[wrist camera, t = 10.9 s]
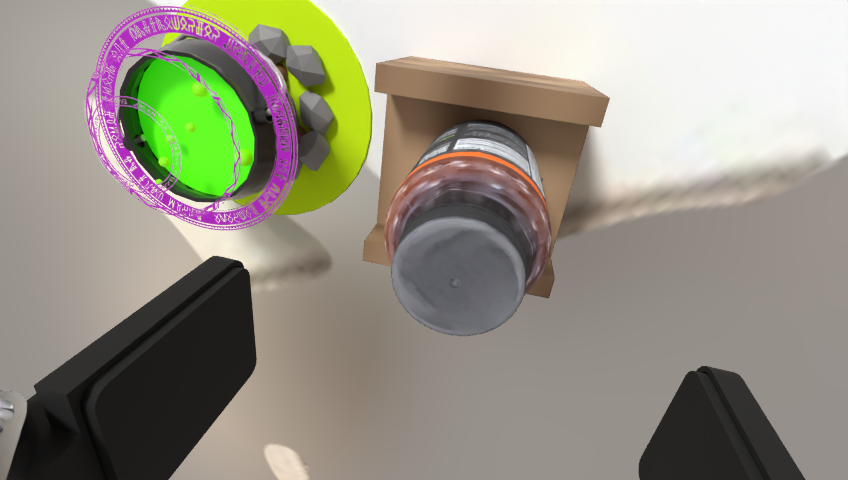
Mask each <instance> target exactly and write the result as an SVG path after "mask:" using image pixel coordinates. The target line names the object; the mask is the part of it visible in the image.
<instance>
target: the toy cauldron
mask: <svg viewBox="0 0 848 480" xmlns="http://www.w3.org/2000/svg"><path fill="white" fill-rule="evenodd" d="M155 8H159V10H156V11H154V10H153V11H150V9H155ZM160 8H163V10H161V9H160ZM164 8H170V10H168V9H167V10H164ZM171 8H179V9H180V10H179V9H178V10H175V9H174V10H172V9H171ZM146 10H149V12H147V11H146ZM143 11H146V13H143V14H139V16H136V17H134V15H135V14H138V13H140V12H143ZM159 12H178V13H177V14H176V15H156V16H151V17H148V18H145V19H142V20H140V21H138V22H136V23H134V24H132V25H131V26H129V27H128V28H127V29H126V30H124V32H122V33H121V34H120V35H119V36H118V38H117V39H116V40H115V42H114V43H113V45H112V46H111V49H110V50H109V52H108V55H107V57H106V60H104V61H105V63H104V61H103V59H104V56H105V53H106V51H107V49H108V47H109V45H110V43H111V42H112V40H113V39H114V38H115V36H116V35H117V34H118V33H119V32H120V31H121V30H122V29H123V28H124V27H125V26H126V25H128V24H129V23H130V22H132V21H134V20H136V19H138V18H140V17H142V16H145V15H148V14H153V13H159ZM131 16H133V19H131V20H128V22H125V24H123V26H120V28H119V29H118V31H115V34H113V36H111V35H112V33H113V32H114V30H116V29H117V27H118V26H119V25H120V24H122V23H123V22H124V21H126V20H127V19H128V18H130V17H131ZM131 16H129V17H128V18H126V19H125V20H123V21H122V22H121V23H120V24H119V25H118V26H116V28H115V29H114V30H113V31H112V32H111V34H110V35H109V36H108V38H107V40H108V39H109V37H110V36H111V39H109V42H108V45H106V48H105V51H104V52H103V53H104V54H102V58H101V59H102V60H101V61H100V63H101V64H99V65H100V68H98V70H99V71H98V70H97V67H98V62H99V58H100V56H101V53H102V50H103V48H104V46H105V44H106V42H105V43H104V45H103V47H102V50H101V52H100V55H99V58H98V62H97V67H96V71H95V74H93V75H94V76H93V77H95V78H91V81H90V84H89V87H88V91H87V98H86V113H87V104H88V108H89V112H90V115H89V121H88V115H87V121H88V126H89V125H90V120H91V129H90V127H89V130H90V134H91V137H92V135H93V137H94V139H95V143H96V144H97V148H95V150H97V149H98V150H97V151H96V152H98V153H99V155H100V154H103V156H104V157H103V158H105V160H106V162H105V160H103V159H102V158H101V159H102V160H103V162H105V163H106V165H104V164H105V163H103V162H102V160H101V159H100V160H101V162H102V163H103V165H104V166H105V167H106V169H107V165H108V166H109V168H110V169H111V171H109V170H108V169H107V170H108V171H109V172H110V173H111V174H112V175H113V176H114V175H115V176H114V178H116V177H118V176H119V175H118V174H117V173H116V171H117V170H116V169H115V168H114V167H113V165H112V164H111V163H110V161H109V160H108V158H107V157H105V156H106V155H104V154H105V153H103V152H104V151H102V150H103V148H102V145H101V142H100V145H101V148H102V149H101V148H100V146H99V144H98V143H99V142H97V137H96V133H97V132H96V131H95V129H96V130H97V128H98V127H97V128H94V127H95V126H94V123H93V116H94V114H95V112H96V110H97V111H98V107H99V109H100V111H99V112H100V113H101V114H100V113H99V112H98V115H97V116H98V117H99V120H100V116H101V120H102V121H103V116H104V118H105V122H106V125H107V128H108V131H109V134H110V136H111V137H112V136H113V134H114V135H115V136H116V137H115V136H113V138H114V139H115V140H116V138H117V140H116V141H115V140H114V139H112V138H111V139H112V141H113V143H114V145H115V143H116V142H119V143H116V147H117V148H116V149H117V151H118V153H119V155H120V157H121V158H122V160H123V162H124V163H125V161H128V160H130V159H132V161H131V163H130V162H129V161H128V162H126V163H125V165H126V166H127V168H128V169H129V170H130V167H131V166H132V163H133V162H134V163H135V164H134V163H133V164H134V166H136V167H137V168H136V169H135V170H133V169H132V168H131V169H132V170H133V171H132V172H131V171H130V172H131V173H132V174H133V175H134V177H135V178H136V179H137V180H138V181H139V179H140V177H143V176H144V175H145V176H144V177H147V178H144V177H143V178H144V179H143V178H142V179H143V181H141V179H140V181H141V182H140V181H139V182H140V184H141V186H143V187H144V188H145V186H146V185H147V183H148V180H149V183H148V185H147V186H146V188H148V187H149V188H148V189H146V188H145V190H144V188H142V187H141V186H140V184H139V183H138V182H137V181H136V180H135V179H134V178H133V176H132V175H131V174H130V173H129V171H128V170H127V169H126V167H125V166H124V164H123V163H122V161H121V160H120V158H119V156H118V154H117V153H116V151H115V149H114V147H113V145H112V143H111V140H110V138H109V135H108V133H107V130H106V127H105V124H104V121H103V122H102V123H103V124H104V126H103V127H104V128H105V129H104V130H105V131H106V134H107V137H106V135H105V132H104V130H103V132H104V135H105V137H106V140H107V138H109V140H107V142H108V141H110V144H109V142H108V144H109V146H110V145H112V148H113V149H114V150H112V148H111V146H110V148H111V150H112V152H113V151H115V153H116V154H114V152H113V154H114V156H115V155H117V158H119V161H120V162H121V164H122V165H123V167H124V168H125V170H124V168H123V167H122V166H121V167H122V168H123V170H124V171H125V172H126V171H127V173H126V174H127V175H128V174H129V175H130V176H129V175H128V176H129V178H130V177H132V179H131V178H130V179H131V180H132V181H133V180H134V181H133V183H134V184H135V185H136V186H137V185H139V187H138V186H137V187H138V188H139V189H140V190H141V191H142V189H143V191H142V192H141V193H144V192H146V190H147V191H148V192H150V191H151V190H152V189H153V188H151V187H155V188H154V190H155V189H156V188H157V193H156V192H155V191H154V190H153V191H154V193H151V192H150V193H148V192H146V193H144V194H145V195H146V194H148V195H149V196H150V197H151V198H150V197H148V196H147V195H146V196H147V197H148V198H150V199H151V200H152V199H154V198H153V197H152V196H151V195H150V194H152V195H153V196H154V197H155V198H156V199H158V200H159V201H160V202H162V203H163V204H165V205H166V206H168V204H169V201H170V198H171V201H172V200H173V203H174V201H175V204H174V207H173V208H172V203H171V204H170V205H169V206H168V207H169V208H171V209H172V210H173V211H176V212H178V213H175V212H173V211H171V209H168V208H166V207H165V206H164V205H162V204H161V203H159V202H158V201H157V200H156V199H154V201H156V202H157V203H159V204H160V205H162V206H163V207H161V206H160V205H158V204H157V203H156V202H154V201H153V200H152V201H153V202H154V203H156V204H157V205H156V204H154V203H153V204H154V205H156V206H153V205H148V204H147V203H146V202H145V201H144V200H143V199H142V198H144V197H142V196H141V195H139V194H138V193H137V192H140V191H137V190H135V191H137V192H135V191H134V189H132V188H130V187H129V186H130V185H131V184H130V183H129V186H127V187H126V188H125V189H127V188H128V187H129V189H128V190H127V191H128V192H129V190H130V193H131V194H132V192H134V193H135V194H136V195H137V196H138V197H139V198H140V199H141V200H142V201H143V202H144V203H145V204H146V205H148V206H150V207H156V208H161V209H163V210H164V211H166V212H168V213H169V215H174V216H175V217H177V216H179V217H180V218H179V217H177V218H179V219H181V218H183V219H186V220H189V219H187V218H185V217H188V218H191V219H194V220H197V221H200V220H199V219H198V218H199V217H200V216H201V221H200V222H204V223H209V224H217V225H230V224H238V223H243V222H246V221H249V220H251V219H253V218H255V217H257V216H259V215H261V214H262V213H263V212H264V213H265V214H264V215H263V216H261V217H259V218H258V219H259V220H260V218H262V217H265V215H267V214H268V213H269V214H270V213H271V214H277V215H292V214H301V213H305V212H308V211H313V210H316V209H318V208H320V207H322V206H324V205H326V204H328V203H330V202H332V201H333V200H335V199H336V198H337V197H338V196H340V195H341V194H342V193H343V192H344V191H345V190H347V189H348V187H349V186H350V185H351V183H352V182H353V181H354V180H355V178H356V177H357V175H358V174H359V172H360V170H361V168H362V166H363V162H364V160H365V158H366V155H367V151H368V146H369V142H370V138H371V122H372V110H371V103H370V97H369V90H368V86H367V83H366V80H365V77H364V74H363V71H362V68H361V65H360V63H359V61H358V59H357V57H356V55H355V53H354V51H353V50H352V48H351V46H350V44H349V42H348V40H347V39H346V38H345V37H344V35H343V34H342V33H341V31H340V30H339V29H338V28H337V26H336V25H335V24H334V23H333V21H332V20H331V19H330V18H329V17H328V16H327V15H325V14H324V13H323V12H322V11H321V10H320V9H319V8H318V7H316V6H315V5H314V4H313V3H312V2H311V1H309V0H189V1H187V2H186V3H185V4H184V5H183V6H182V7H173V6H159V7H153V8H148V9H145V10H142V11H139V12H136V13H134V14H133V15H131ZM165 16H167V18H168V19H169V20H170V21H171V22H170V26H169V27H168V25H167V24H166V23H165V22H164V20H165ZM155 17H156V18H158V19H159V20H160V22H161V24H162V25H164V26H165V27H166V30H163V29H162V27H163V28H164V29H165V27H164V26H162V27H161V24H160V22H159V24H160V27H161V30H159V29H160V27H159V29H158V26H159V24H158V25H157V23H158V21H157V23H156V20H157V19H156V20H155ZM171 17H172V20H171ZM150 18H152V20H151V22H152V21H153V22H155V24H154V26H155V28H154V26H153V28H154V30H153V28H152V25H151V24H150V20H149V19H150ZM167 18H166V20H165V21H166V22H167V23H168V24H169V20H168V19H167ZM142 21H145V22H143V23H144V25H145V23H146V25H147V26H149V28H150V33H151V34H150V33H149V31H148V29H149V28H146V29H145V30H147V31H148V34H147V32H146V31H145V30H144V29H143V28H144V25H143V23H142ZM134 25H136V26H138V27H139V28H140V30H141V31H143V32H144V33H145V35H146V36H144V35H143V34H144V33H143V34H142V33H141V31H140V30H139V32H140V33H141V35H142V37H141V38H140V37H139V38H138V35H139V34H140V33H139V34H138V33H137V31H136V29H135V27H136V26H135V27H134ZM146 25H145V27H146ZM130 27H131V28H133V29H134V30H135V31H136V33H137V34H138V35H137V39H136V38H134V37H133V38H134V39H135V41H134V39H133V38H132V37H131V35H130V33H129V28H130ZM167 27H168V30H167ZM155 29H156V30H157V32H156V31H155ZM153 31H155V32H153ZM131 32H132V34H133V35H134V36H135V37H136V35H135V33H134V32H133V31H132V30H131ZM162 33H166V35H165V38H164V40H163V44H162V48H161V49H159V50H152V49H146V48H133V47H134V46H136V44H138V43H139V42H141V41H143V40H144V39H146V38H148V37H151V36H153V35H157V34H162ZM119 38H121V39H122V40H124V42H125V44H126V45H127V46H128V47H129V48H127V47H126V48H127V49H126V48H125V46H126V45H125V44H124V45H125V46H124V45H123V44H122V45H121V41H122V40H121V41H120V40H119ZM107 40H106V41H107ZM115 43H117V44H118V45H119V46H120V47H121V48H122V50H121V49H120V48H119V47H118V46H117V45H115V46H116V47H117V48H118V49H119V50H120V52H119V50H118V49H117V48H116V47H115V46H114V44H115ZM138 49H140V50H146V51H143V52H141V53H137V54H132V53H129V51H130V50H138ZM111 51H116V52H117V53H116V52H113V55H112V52H111ZM124 51H125V52H124ZM150 51H152V52H153V53H152V54H148V55H142V54H144V53H147V52H150ZM155 51H156V52H155ZM121 54H122V55H123V56H122V55H121ZM126 55H131V57H132V56H143V57H142V58H141V59H140V60H139V61H138V62H136V63H135V64H134V65H133V66H132V67H131V68H130V69H129V70H128V72H127V74H126V77H125V79H124V82H123V84H122V87H121V89H120V96H114V90H115V82H116V77H117V74H118V70H119V68H120V66H121V63H122V62H123V60H124V58H125V57H126ZM113 56H116V57H113ZM118 56H120V57H121V58H118ZM129 57H130V56H129ZM118 59H119V60H118ZM118 61H119V62H118ZM103 63H104V67H103V71H102V73H100V70H101V66H102V65H103ZM111 65H112V66H114V67H115V68H116V69H115V68H113V67H112V66H111ZM110 66H111V67H112V68H113V69H114V70H115V72H113V71H114V70H113V69H112V68H110ZM106 67H108V68H110V69H111V70H112V71H111V72H113V73H114V74H115V75H114V74H112V73H111V72H110V71H109V70H110V69H109V70H108V69H107V68H106ZM105 70H106V71H108V72H110V75H111V76H112V77H114V78H112V77H111V76H109V73H108V72H105V74H104V75H103V73H104V71H105ZM97 72H98V73H99V74H96V73H97ZM100 75H101V76H102V78H101V101H102V103H101V102H100V98H99V78H100V77H101V76H100ZM97 76H98V78H97V79H96V77H97ZM108 76H109V78H110V79H112V80H113V81H112V80H110V79H109V78H108ZM105 78H106V79H107V80H108V82H109V83H110V82H112V83H111V84H110V85H111V87H112V88H111V87H110V85H109V84H107V85H105V83H108V82H107V80H104V82H105V83H104V82H103V80H102V79H105ZM92 81H95V86H94V87H93V88H92V90H91V91H90V92H89V88H90V85H91V82H92ZM97 84H98V85H97ZM96 85H97V87H98V89H97V90H98V93H97V94H98V100H97V99H96ZM102 86H103V87H107V88H109V89H107V88H106V89H107V90H108V91H112V92H109V93H110V94H111V95H109V94H106V93H108V92H107V91H106V90H105V89H104V88H103V87H102ZM94 89H95V99H96V106H97V101H99V104H98V106H97V108H96V109H95V111H94V113H93V116H92V115H91V114H92V105H91V110H90V105H89V100H88V97H89V96H90V94H91V93H92V92H93V90H94ZM110 89H111V90H110ZM102 91H104V92H106V93H104V92H102ZM105 95H106V98H108V99H106V100H110V99H112V100H110V101H106V100H104V99H105V98H103V99H102V96H103V97H105ZM115 97H120V98H119V101H118V104H117V103H116V100H115V101H114V98H115ZM92 100H93V99H92ZM112 101H113V103H112ZM92 102H93V101H92ZM101 104H102V107H101V106H100V105H101ZM115 104H117V106H115ZM115 107H116V109H115ZM101 108H103V113H104V111H106V112H105V113H104V115H103V116H102V112H101ZM109 111H110V112H111V113H114V114H111V113H110V115H114V116H110V117H113V118H110V117H109V115H106V116H105V114H109V113H107V112H109ZM99 114H100V116H99ZM96 118H97V117H96ZM96 118H95V119H96ZM97 120H98V119H97ZM101 120H100V123H101ZM107 120H113V121H108V122H110V123H112V124H110V123H108V122H107ZM120 120H121V123H122V127H123V131H124V134H125V135H124V134H123V133H122V130H121V126H120ZM95 122H96V121H95ZM100 123H99V129H100ZM102 123H101V126H102ZM95 124H96V123H95ZM96 125H97V124H96ZM92 126H93V130H94V131H93V132H94V134H93V132H92ZM103 127H102V129H103ZM109 127H113V128H114V129H111V128H109ZM112 131H115V133H110V132H112ZM95 132H96V133H95ZM98 132H99V131H98ZM94 135H95V136H94ZM97 136H98V135H97ZM93 137H92V141H93ZM99 140H100V135H99ZM95 143H94V141H93V144H94V147H96V146H95ZM122 143H123V144H122ZM119 144H121V145H120V146H121V147H124V148H120V146H119ZM99 149H100V150H99ZM100 151H101V152H102V153H100ZM130 151H133V153H134V155H135V157H136V158H137V160H138V162H139V163H140V164H141V165H142V166H143V167H144V168H145V170H146V171H147V172H148V173H149V174H150V175H151V176H152V177H153V179H154V180H155V181H156V184H157V185H163V186H164V187H165V188H167V190H170V191H171V192H173V193H174V194H176V195H179V196H181V197H184V198H187V199H190V200H193V201H195V202H216V204H217V202H218V204H217V206H216V209H217V207H218V208H219V202H221V201H226V200H234V201H235V202H237V203H239V204H241V205H243V206H245V207H244V208H241V209H238V210H235V211H230V212H212V211H214V210H216V209H215V203H213V204H212V205H213V206H212V205H210V206H208V207H206V208H204V209H205V210H204V211H203V210H201V209H200V210H199V209H196V208H193V207H190V206H188V205H185V204H183V203H181V202H180V201H178V200H176V199H174V198H173V197H171V196H170V195H168V194H167V193H165V192H166V191H167V190H165V191H163V190H162V189H160V188H159V187H160V186H159V187H158V186H157V185H156V184H155V183H154V182H153V181H152V180H151V179H150V178H149V177H148V176H147V175H146V174H145V173H144V172H143V170H142V169H141V168H140V167H139V165H138V164H137V162H136V161H135V159H134V158H133V156H132V155H131V153H130ZM98 153H97V154H98ZM99 155H98V156H99ZM101 156H102V155H100V157H101ZM126 156H128V157H129V156H130V157H131V158H129V159H127V157H126ZM100 157H99V158H100ZM115 157H116V156H115ZM106 158H107V159H106ZM117 158H116V159H117ZM125 159H127V160H125ZM107 160H108V161H109V163H110V164H111V165H112V167H113V168H114V169H115V170H116V171H114V170H113V169H112V168H111V166H110V165H109V163H108V161H107ZM124 160H125V161H124ZM117 161H118V159H117ZM119 161H118V162H119ZM120 162H119V164H120ZM116 163H117V162H116ZM121 164H120V165H121ZM118 166H119V165H118ZM134 166H132V167H134ZM134 168H135V167H134ZM117 172H118V171H117ZM118 173H119V172H118ZM119 174H120V173H119ZM116 175H117V176H116ZM120 175H121V174H120ZM122 176H123V175H122ZM123 177H124V176H123ZM126 177H127V176H126ZM119 178H120V176H119V177H118V178H116V179H117V180H118V179H119ZM124 178H125V177H124ZM126 179H127V178H126ZM119 180H121V181H122V180H123V178H122V179H121V178H120V179H119ZM119 180H118V181H119ZM127 180H128V179H127ZM121 181H119V182H121ZM125 181H126V180H125ZM129 181H130V180H129ZM132 181H131V182H132ZM122 182H123V183H125V184H124V185H125V186H126V183H127V182H124V181H122ZM122 182H121V183H122ZM135 182H136V183H135ZM121 183H120V184H121ZM123 183H122V185H123ZM151 184H153V185H151ZM124 185H123V186H124ZM127 185H128V184H127ZM149 185H151V186H149ZM125 186H124V187H125ZM132 187H133V186H132ZM164 187H163V188H164ZM161 188H162V187H161ZM165 188H164V189H165ZM153 191H152V192H153ZM159 191H162V192H163V194H161V193H162V192H159ZM158 192H159V193H158ZM156 194H157V197H156ZM160 194H161V195H160ZM159 195H160V197H159ZM140 196H141V197H142V198H141V197H140ZM162 196H163V198H162ZM158 197H159V198H158ZM161 198H162V200H161ZM144 199H145V198H144ZM138 200H139V199H138ZM146 200H147V199H146ZM147 201H149V200H147ZM171 201H170V202H171ZM149 202H150V201H149ZM177 202H178V204H179V205H181V204H182V205H181V206H178V204H177ZM151 203H152V202H151ZM177 206H178V211H177ZM184 206H185V210H187V207H188V210H187V211H185V210H183V211H182V209H184ZM164 207H165V208H164ZM211 207H213V210H211V211H206V210H208V209H209V208H211ZM241 207H242V206H241ZM179 208H180V211H179ZM192 208H193V209H195V210H193V212H192ZM246 208H247V212H249V213H251V218H250V217H248V216H250V214H249V213H247V215H248V216H246V212H245V211H246ZM249 208H250V209H251V210H252V211H253V212H254V210H256V211H257V212H258V214H257V215H255V212H256V211H255V212H254V213H253V212H252V211H251V210H250V209H249ZM153 209H154V208H153ZM165 209H167V210H169V211H171V213H170V212H169V211H167V210H165ZM189 209H190V211H189ZM235 209H236V208H235ZM253 209H254V210H253ZM155 210H157V209H155ZM197 210H198V211H201V212H198V211H197ZM230 210H233V209H230ZM241 210H242V211H243V210H245V211H243V212H244V214H245V216H246V219H245V220H242V219H243V218H244V216H243V215H244V214H243V212H242V211H241ZM196 211H197V213H196ZM226 211H227V210H226ZM240 211H241V212H242V213H241V212H240ZM161 212H162V211H161ZM204 212H205V213H204ZM236 212H238V213H239V212H240V213H239V215H240V214H241V215H242V214H243V215H242V217H243V218H242V217H241V218H242V219H241V218H240V216H241V215H240V216H239V215H238V213H237V214H236ZM257 212H256V213H257ZM163 213H164V212H163ZM168 213H166V214H168ZM172 213H174V214H172ZM183 213H184V214H186V215H184V214H183ZM203 213H204V214H203ZM224 213H225V215H226V214H227V215H228V216H227V215H226V218H225V221H226V222H223V221H222V220H223V219H224ZM233 213H234V214H235V216H236V217H237V215H238V218H235V220H236V221H240V222H236V221H235V220H234V217H235V216H234V214H233ZM178 214H182V215H184V216H180V215H178ZM189 214H190V216H189ZM218 214H220V215H221V216H222V217H221V218H220V215H218ZM230 214H231V215H230ZM271 214H270V215H271ZM217 215H218V218H219V219H220V222H219V219H218V218H217V219H216V216H217ZM229 215H230V217H231V218H233V222H232V219H231V218H230V217H229ZM270 215H268V216H267V217H266V218H268V217H269V216H270ZM197 216H198V218H197ZM222 218H223V219H222ZM228 218H229V220H230V221H231V222H232V223H231V222H230V221H228ZM266 218H264V219H266ZM183 219H181V220H183ZM215 219H216V220H217V221H218V222H219V223H218V222H217V221H216V220H215ZM221 219H222V220H221ZM258 219H256V220H253V221H251V222H249V223H246V224H242V225H243V226H244V225H247V224H249V225H250V223H252V222H255V221H257V220H258ZM264 219H263V220H264ZM263 220H261V221H263ZM183 221H185V220H183ZM189 221H192V220H189ZM261 221H259V222H261ZM186 222H188V221H186ZM192 222H193V223H194V222H195V221H192ZM259 222H257V223H259ZM188 223H190V222H188ZM193 223H191V224H193ZM195 223H196V224H197V223H198V222H195ZM257 223H255V224H257ZM196 224H193V225H196ZM198 224H199V225H200V224H202V223H198ZM255 224H253V225H255ZM199 225H196V226H199ZM202 225H205V226H208V227H209V226H211V225H206V224H202ZM242 225H237V227H239V226H240V227H241V226H242ZM253 225H250V226H253ZM250 226H247V227H250ZM200 227H203V226H200ZM211 227H214V228H215V227H217V228H218V227H220V228H221V227H222V228H223V229H214V230H237V229H230V227H231V228H233V227H235V228H236V226H225V227H226V228H227V227H228V228H229V229H224V227H223V226H211ZM247 227H243V228H247ZM204 228H207V227H204ZM208 229H213V228H208ZM238 229H242V228H238Z"/></svg>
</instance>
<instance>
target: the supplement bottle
mask: <svg viewBox="0 0 848 480" xmlns="http://www.w3.org/2000/svg"><path fill="white" fill-rule="evenodd" d="M542 181H543V178H542V179H540V175H539V170H538V166H537V163H536V160H535V158H534V155H533V152H532V151H531V149H530V147H529V146H528V144H527V143H526V141H525V140H524V139H523V138H522V136H521V135H519V134H518V133H517V132H516V131H515V130H513V129H512V128H510V127H508V126H506V125H504V124H502V123H499V122H496V121H491V120H483V119H478V120H469V121H465V122H461V123H459V124H456V125H454V126H452V127H450V128H449V129H447V130H446V131H444V132H443V133H442V134H440V135H439V136H438V137H437V138H436V139H435V140H434V141H433V142H432V143H431V145H430V146H429V148H428V149H427V150H426V152H425V153H424V154H423V155H422V157H421V158H420V159H419V161H418V162H417V163H416V165H415V166H414V167H413V169H412V170H411V172H410V173H409V174H408V175H407V177H406V178H405V179H404V181H403V182H402V184H401V185H400V187H399V188H398V190H397V191H396V193H395V194H394V196H393V198H392V201H391V203H390V205H389V208H388V211H387V214H386V218H385V225H384V241H385V248H386V252H387V256H388V259H389V261H390V264H391V278H392V285H393V289H394V291H395V294H396V296H397V298H398V300H399V302H400V303H401V305H402V306H403V308H404V309H405V310H406V311H407V312H408V313H409V314H410V315H411V316H412V317H413V318H414V319H415V320H417V321H419V322H420V323H422V324H423V325H424V326H427V327H429V328H430V329H433V330H435V331H437V332H441V333H445V334H449V335H457V336H471V335H477V334H482V333H486V332H488V331H490V330H493V329H495V328H497V327H499V326H500V325H502V324H503V323H504V322H506V321H507V320H508V319H509V318H510V317H511V316H512V315H513V314H514V313H515V311H516V310H517V308H518V307H519V305H520V303H521V302H522V299H523V296H524V295H525V294H526V293H527V292H528V291H529V290H530V289H531V288H532V287H533V286H534V285H535V283H536V282H537V281H538V280H539V278H540V277H541V275H542V273H543V271H544V270H545V268H546V265H547V262H548V260H549V257H550V252H551V244H552V236H551V234H552V232H551V223H550V218H549V213H548V209H547V204H546V198H545V193H544V190H543V187H542Z"/></svg>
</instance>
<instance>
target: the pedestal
mask: <svg viewBox="0 0 848 480" xmlns="http://www.w3.org/2000/svg"><path fill="white" fill-rule="evenodd" d="M374 92H379V93H386V94H387V105H386V117H385V130H384V142H383V155H382V167H381V179H380V192H379V204H378V217H377V224H376V225H375V227H374V228H373V230H372V231H371V232H370V234H369V235H368V237H367V238H366V240H365V241H364V253H363V260H364V261H367V262H372V263H378V264H382V265H387V266H391V264H390V261H389V259H388V256H387V252H386V248H385V241H384V225H385V218H386V214H387V211H388V208H389V205H390V203H391V201H392V198H393V196H394V194H395V193H396V191H397V190H398V188H399V187H400V185H401V184H402V182H403V181H404V179H405V178H406V177H407V175H408V174H409V173H410V172H411V170H412V169H413V167H414V166H415V165H416V163H417V162H418V161H419V159H420V158H421V157H422V155H423V154H424V153H425V152H426V150H427V149H428V148H429V146H430V145H431V143H432V142H433V141H434V140H435V139H436V138H437V137H438V136H439V135H440V134H442V133H443V132H444V131H446V130H447V129H449V128H450V127H452V126H454V125H456V124H459V123H461V122H465V121H469V120H478V119H483V120H491V121H496V122H499V123H502V124H504V125H506V126H508V127H510V128H512V129H513V130H515V131H516V132H517V133H518V134H519V135H521V136H522V138H523V139H524V140H525V141H526V143H527V144H528V146H529V147H530V149H531V151H532V152H533V155H534V158H535V160H536V163H537V166H538V170H539V175H540V179H542V178H543V181H542V187H543V190H544V193H545V198H546V204H547V209H548V213H549V218H550V223H551V232H552V234H551V236H552V244H551V252H550V257H549V260H548V262H547V265H546V268H545V270H544V271H543V273H542V275H541V277H540V278H539V280H538V281H537V282H536V283H535V285H534V286H533V287H532V288H531V289H530V290H529V291H528V292H527V293H526V294H530V295H535V296H540V297H545V298H549V296H550V292H551V289H552V286H553V282H554V272H553V266H552V261H551V254H552V251H553V248H554V244H555V241H556V237H557V234H558V231H559V227H560V224H561V220H562V217H563V213H564V210H565V207H566V203H567V200H568V196H569V193H570V190H571V186H572V183H573V179H574V176H575V172H576V169H577V166H578V162H579V159H580V155H581V152H582V149H583V145H584V142H585V138H586V135H587V131H588V128H589V126H596V127H601V125H602V122H603V119H604V116H605V112H606V109H607V106H608V102H609V99H610V98H609V97H607V96H606V95H604V94H602V93H601V92H599V91H598V90H596V89H594V88H593V87H591V86H589V85H588V84H586V83H585V82H583V81H576V80H569V79H562V78H556V77H549V76H542V75H535V74H528V73H521V72H515V71H508V70H501V69H494V68H487V67H481V66H474V65H467V64H460V63H453V62H446V61H440V60H433V59H426V58H419V57H412V56H411V57H406V58H400V59H395V60H390V61H385V62H380V63H376V75H375V90H374Z"/></svg>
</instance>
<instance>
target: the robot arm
mask: <svg viewBox="0 0 848 480" xmlns="http://www.w3.org/2000/svg"><path fill="white" fill-rule="evenodd" d="M255 366H256V347H255V334H254V322H253V310H252V298H251V286H250V275H249V272H248V270H246V269H244V266H243V264H242V262H240V261H237V260H233V259H229V258H224V257H220V256H213V257H211V258H209V259H208V260H206V261H205V262H203V263H202V264H201V265H199V266H198V267H197V268H195V269H194V270H192V271H191V272H190V273H188V274H187V275H185V276H184V277H183V278H181V279H180V280H179V281H177V282H176V283H175V284H173V285H172V286H170V287H169V288H168V289H166V290H165V291H163V292H162V293H161V294H159V295H158V296H157V297H155V298H154V299H152V300H151V301H150V302H148V303H147V304H145V305H144V306H143V307H141V308H140V309H139V310H137V311H136V312H134V313H133V314H132V315H130V316H129V317H128V318H126V319H125V320H123V321H122V322H121V323H119V324H118V325H117V326H115V327H114V328H112V329H111V330H110V331H108V332H107V333H106V334H104V335H103V336H101V337H100V338H99V339H97V340H96V341H94V342H93V343H92V344H90V345H89V346H88V347H87V348H85V349H83V350H82V351H81V352H79V353H78V354H77V355H75V356H74V357H73V358H71V359H70V360H68V361H67V362H65V363H64V364H63V365H61V366H60V367H59V368H57V369H56V370H55V371H53V372H52V373H50V374H49V375H48V376H46V377H45V378H44V379H42V380H41V381H39V382H38V383H37V384H35V385H34V388H35V390H36V394H35V395H34V396H32V397H31V398H30V399H28V400H27V401H25V399H24V398H23V396H22V395H19V394H17V393H15V392H12V391H4V390H0V480H168V479H169V478H170V477H171V476H172V474H173V473H174V472H175V471H176V469H177V468H178V467H179V466H180V464H181V463H182V462H183V461H184V459H185V458H186V457H187V455H188V454H189V453H190V452H191V450H192V449H193V448H194V447H195V445H196V444H197V443H198V442H199V440H200V439H201V438H202V437H203V435H204V434H205V433H206V432H207V430H208V429H209V428H210V426H211V425H212V424H213V423H214V421H215V420H216V419H217V417H218V416H219V415H220V414H221V413H222V411H223V410H224V409H225V407H226V406H227V405H228V404H229V402H230V401H231V400H232V399H233V397H234V396H235V395H236V394H237V392H238V391H239V390H240V389H241V387H242V386H243V385H244V384H245V382H246V381H247V380H248V378H249V377H250V376H251V374H252V373H253V371H254V369H255ZM639 478H640V480H805V478H804V477H803V475H802V473H801V472H800V470H799V469H798V467H797V465H796V464H795V462H794V461H793V459H792V458H791V456H790V454H789V453H788V451H787V450H786V448H785V446H784V445H783V443H782V441H781V440H780V438H779V437H778V435H777V433H776V432H775V430H774V428H773V427H772V425H771V424H770V422H769V420H768V419H767V417H766V416H765V414H764V413H763V411H762V409H761V408H760V406H759V404H758V403H757V401H756V400H755V398H754V397H753V395H752V393H751V392H750V390H749V389H748V387H747V385H746V384H745V382H744V380H743V379H742V378H741V376H740V375H738V374H737V373H734V372H730V371H725V370H721V369H716V368H712V367H708V366H702V367H700V368H698V370H697V371H690V372H688V373H687V375H686V376H685V378H684V380H683V382H682V383H681V385H680V387H679V389H678V391H677V392H676V394H675V396H674V398H673V400H672V402H671V403H670V405H669V407H668V409H667V411H666V413H665V414H664V416H663V418H662V420H661V422H660V424H659V425H658V427H657V429H656V431H655V433H654V434H653V436H652V438H651V440H650V442H649V444H648V445H647V448H646V449H645V451H644V453H643V455H642V456H641V459H640V463H639Z"/></svg>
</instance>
